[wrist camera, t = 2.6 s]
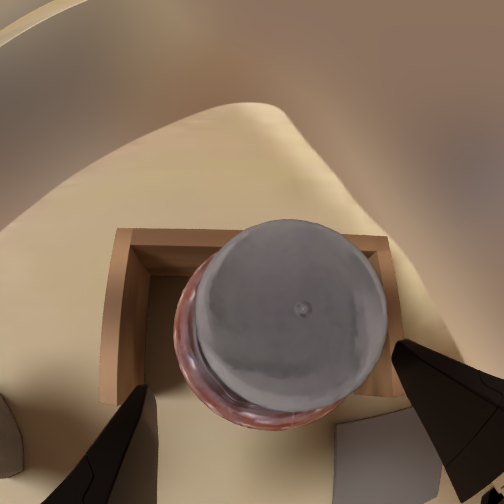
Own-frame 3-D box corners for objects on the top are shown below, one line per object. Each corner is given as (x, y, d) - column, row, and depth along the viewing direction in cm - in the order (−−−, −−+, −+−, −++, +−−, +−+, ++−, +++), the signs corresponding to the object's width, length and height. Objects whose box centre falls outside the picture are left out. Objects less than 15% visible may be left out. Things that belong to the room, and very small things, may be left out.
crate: (366, 391, 17) (407, 393, 12) (130, 396, 15) (99, 402, 11) (355, 266, 21) (387, 236, 16) (139, 261, 19) (116, 228, 15)
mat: (434, 495, 13) (436, 496, 12) (329, 533, 12) (331, 535, 11) (442, 396, 17) (445, 396, 16) (334, 424, 16) (337, 425, 15)
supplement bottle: (285, 290, 19) (366, 166, 8) (315, 382, 17) (456, 382, 5) (188, 314, 18) (127, 208, 6) (215, 413, 16) (195, 496, 4)
